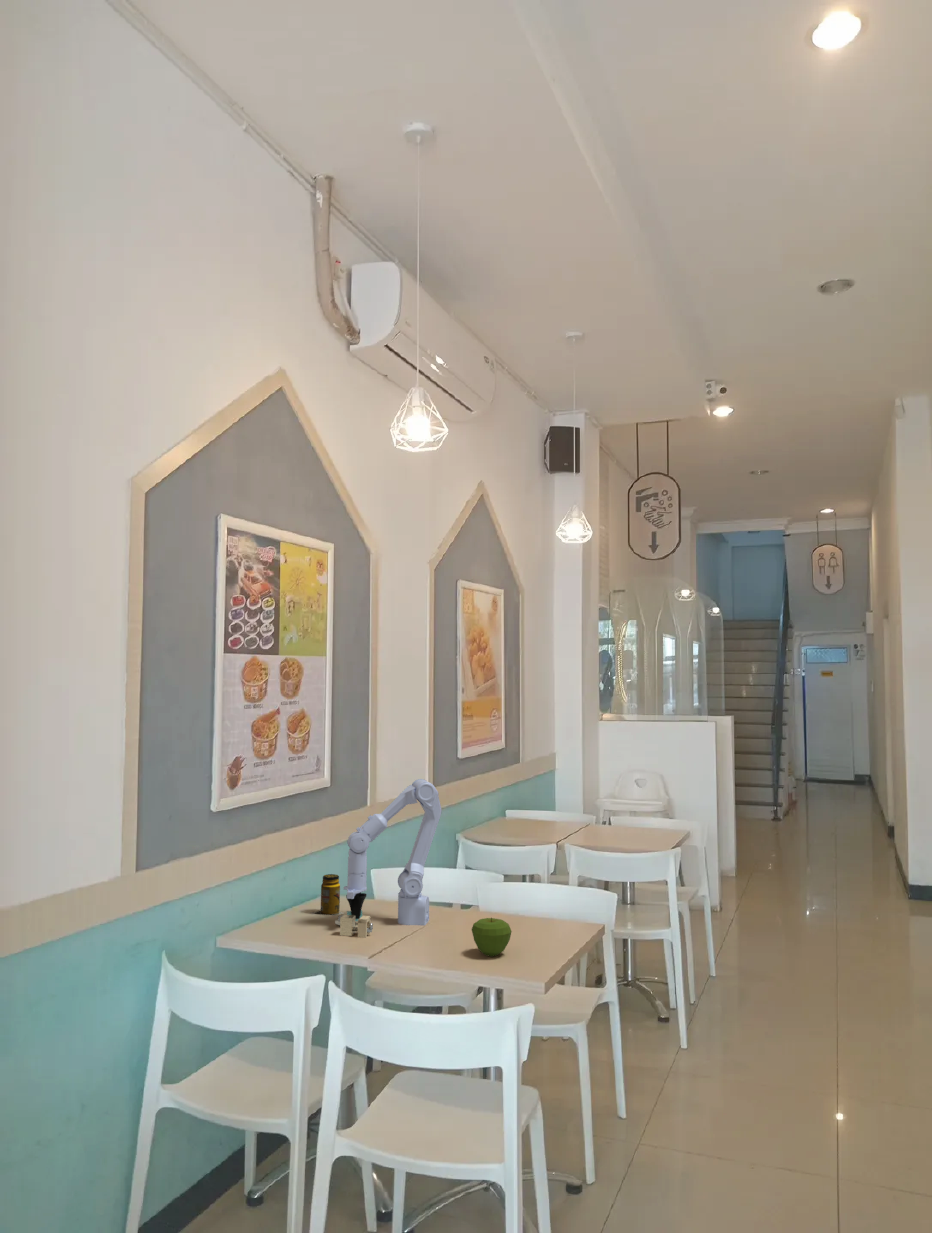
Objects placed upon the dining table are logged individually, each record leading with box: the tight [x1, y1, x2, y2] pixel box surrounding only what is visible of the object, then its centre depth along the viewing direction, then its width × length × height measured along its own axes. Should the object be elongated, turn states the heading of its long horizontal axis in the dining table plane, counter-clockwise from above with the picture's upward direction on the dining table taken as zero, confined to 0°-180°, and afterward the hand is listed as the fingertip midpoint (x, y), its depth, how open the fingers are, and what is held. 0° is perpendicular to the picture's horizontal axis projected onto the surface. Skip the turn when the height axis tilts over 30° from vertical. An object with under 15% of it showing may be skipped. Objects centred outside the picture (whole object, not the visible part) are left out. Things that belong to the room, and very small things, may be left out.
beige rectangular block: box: [339, 914, 374, 937], centre depth 262 cm, size 9×4×5 cm, turn 80°
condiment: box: [311, 873, 345, 916], centre depth 289 cm, size 7×8×12 cm
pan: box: [334, 909, 363, 926], centre depth 272 cm, size 8×4×3 cm, turn 108°
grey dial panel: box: [338, 915, 372, 939], centre depth 267 cm, size 15×15×6 cm
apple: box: [471, 917, 513, 957], centre depth 247 cm, size 11×10×10 cm
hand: (356, 918), depth 272 cm, fingers closed, pressing on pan
